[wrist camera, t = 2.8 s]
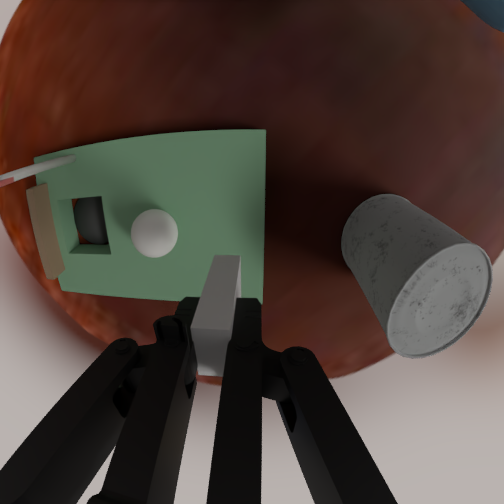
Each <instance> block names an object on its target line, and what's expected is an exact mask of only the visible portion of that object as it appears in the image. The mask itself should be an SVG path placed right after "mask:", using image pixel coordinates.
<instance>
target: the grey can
mask: <svg viewBox="0 0 504 504" xmlns="http://www.w3.org/2000/svg"><path fill="white" fill-rule="evenodd" d="M341 248H342V254H343V257H344V260H345V262H346V264H347V266H348V267H349V268H350V269H351V271H352V273H353V274H354V276H355V278H356V280H357V281H358V283H359V285H360V287H361V288H362V290H363V292H364V294H365V296H366V298H367V299H368V301H369V303H370V305H371V307H372V309H373V311H374V312H375V314H376V316H377V318H378V320H379V322H380V324H381V326H382V328H383V330H384V332H385V334H386V337H387V340H388V342H389V345H390V346H391V348H392V349H393V350H394V351H395V352H396V353H398V354H400V355H401V356H403V357H408V358H424V357H427V356H432V355H435V354H437V353H439V352H441V351H443V350H445V349H447V348H448V347H450V346H451V345H453V344H454V343H456V342H457V341H458V340H459V339H460V338H462V337H463V336H464V335H465V334H466V333H467V332H468V331H469V329H470V328H471V327H472V326H473V325H474V323H475V322H476V321H477V319H478V318H479V316H480V315H481V313H482V311H483V309H484V307H485V305H486V303H487V300H488V297H489V295H490V292H491V286H492V280H493V278H492V266H491V262H490V259H489V257H488V255H487V254H486V252H485V251H484V250H483V249H482V248H480V247H479V246H478V245H476V244H473V243H471V242H470V241H468V240H467V239H466V238H464V237H463V236H461V235H460V234H458V233H457V232H456V231H454V230H453V229H451V228H450V227H448V226H447V225H445V224H444V223H442V222H440V221H439V220H437V219H436V218H434V217H433V216H431V215H429V214H428V213H426V212H425V211H423V210H421V209H420V208H418V207H416V206H415V205H413V204H411V203H410V202H409V201H408V200H406V199H405V198H403V197H401V196H398V195H394V194H381V195H377V196H373V197H371V198H369V199H368V200H366V201H364V202H363V203H361V204H360V205H359V206H358V207H357V208H356V209H355V210H354V211H353V213H352V214H351V215H350V216H349V218H348V220H347V222H346V224H345V226H344V230H343V234H342V240H341Z"/></svg>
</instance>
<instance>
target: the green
mask: <svg viewBox="0 0 504 504" xmlns="http://www.w3.org/2000/svg"><path fill="white" fill-rule="evenodd" d="M265 163H266V130H208V131H190V132H177V133H166V134H156V135H147V136H139V137H132V138H125V139H118V140H112V141H106V142H101V143H95V144H90V145H85V146H80V147H75V148H71V149H66V150H62V151H58V152H54V153H50V154H46V155H42V156H39V157H35V158H34V165H31V166H27V167H24V168H21V169H18V170H15V171H12V172H9V173H6V174H3V175H0V187H2V186H5V185H7V184H10V183H12V182H15V181H17V180H20V179H23V178H25V177H28V176H31V175H34V174H35V175H36V182H37V186H34V187H32V188H29V189H27V190H26V194H27V200H28V206H29V211H30V216H31V221H32V226H33V230H34V235H35V239H36V243H37V247H38V250H39V254H40V257H41V261H42V264H43V268H44V271H45V274H46V277H47V279H53V280H54V279H55V278H56V277H58V280H59V283H60V286H61V289H62V291H70V292H79V293H88V294H97V295H107V296H118V297H129V298H141V299H155V300H170V301H181V300H183V299H184V298H185V297H201V294H202V291H203V288H204V285H205V282H206V279H207V276H208V273H209V270H210V267H211V264H212V261H213V258H214V255H241V298H257V299H258V300H259V302H260V303H261V304H262V301H263V265H264V221H265ZM74 198H80V199H79V200H78V201H77V203H76V206H75V209H74V213H73V207H72V200H71V199H74ZM150 209H159V210H163V211H165V212H167V213H168V214H170V215H171V216H172V217H173V219H174V220H175V222H176V224H177V228H178V238H177V242H176V244H175V246H174V247H173V249H172V250H171V251H170V252H169V253H167V254H166V255H164V256H161V257H157V258H151V257H147V256H144V255H143V254H141V253H140V252H138V251H137V249H136V248H135V247H134V245H133V243H132V239H131V228H132V224H133V222H134V221H135V219H136V218H137V217H138V216H139V215H140V214H141V213H143V212H144V211H147V210H150ZM76 227H77V229H78V231H79V233H80V234H81V235H82V236H83V238H85V239H86V240H87V241H89V242H91V243H93V244H80V243H79V238H78V234H77V229H76ZM108 241H109V245H96V244H104V243H106V242H108Z"/></svg>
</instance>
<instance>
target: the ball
mask: <svg viewBox="0 0 504 504" xmlns="http://www.w3.org/2000/svg"><path fill="white" fill-rule="evenodd" d="M177 238H178V228H177V224H176V222H175V220H174V219H173V217H172V216H171V215H170V214H168V213H167V212H165V211H163V210H159V209H150V210H147V211H144V212H143V213H141V214H140V215H139V216H138V217H137V218H136V219H135V221H134V222H133V224H132V228H131V239H132V243H133V245H134V247H135V248H136V249H137V251H138V252H140V253H141V254H143V255H144V256H147V257H151V258H157V257H161V256H164V255H166V254H167V253H169V252H170V251H171V250H172V249H173V247H174V246H175V244H176V242H177Z"/></svg>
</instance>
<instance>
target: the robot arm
mask: <svg viewBox="0 0 504 504" xmlns="http://www.w3.org/2000/svg"><path fill="white" fill-rule="evenodd" d="M461 1H462V2H463V3H464V4H465V5H466V6H467V7H468V8H470V9H471V10H472V11H473V12H474V13H475V14H476V15H477V16H478V17H479V18H480V19H481V20H483V21H484V22H485V23H487V24H488V25H490V26H491V27H493V28H495V29H497V30H499V31H501V32H504V0H461ZM153 327H154V330H155V334H156V338H157V341H156V343H154V344H150V345H143V346H138V344H137V343H136V341H135V340H133V339H131V338H120V339H117V340H115V341H114V342H112V343H111V344H110V345H109V346H108V347H107V348H106V349H105V350H104V351H103V352H102V353H101V355H100V356H99V357H98V358H97V359H96V360H95V361H94V362H93V363H92V364H91V365H90V366H89V367H88V369H87V370H86V371H85V372H84V373H83V374H82V375H81V376H80V377H79V378H78V379H77V381H76V382H75V383H74V384H73V385H72V386H71V387H70V388H69V389H68V391H67V392H66V393H65V394H64V395H63V396H62V397H61V398H60V400H59V401H58V402H57V403H56V404H55V405H54V406H53V407H52V409H51V410H50V411H49V412H48V413H47V414H46V416H45V417H44V418H43V419H42V420H41V422H40V423H39V424H38V425H37V426H36V427H35V429H34V430H33V431H32V432H31V433H30V435H29V436H28V437H27V438H26V439H25V440H24V442H23V443H22V444H21V445H20V447H19V448H18V449H17V450H16V451H15V453H14V454H13V455H12V456H11V458H10V459H9V460H8V461H7V463H6V464H5V465H4V467H3V468H2V469H1V470H0V504H76V503H77V502H78V500H79V499H80V497H81V496H82V494H83V493H84V491H85V490H86V488H87V487H88V485H89V484H90V483H91V481H92V480H93V478H94V477H95V475H96V473H97V472H98V471H99V469H100V468H101V466H102V465H103V463H104V462H105V460H106V459H107V457H108V456H109V454H110V453H111V451H112V450H113V449H114V447H115V446H116V447H115V450H114V453H113V456H112V459H111V462H110V465H109V468H108V471H107V474H106V477H105V481H104V484H103V487H102V490H101V491H100V492H99V494H96V495H94V496H92V497H91V498H90V499H89V500H88V502H87V504H174V498H175V492H176V486H177V480H178V475H179V470H180V465H181V459H182V454H183V449H184V444H185V438H186V434H187V428H188V423H189V419H190V414H191V408H192V404H193V399H194V395H195V390H196V385H197V380H196V371H197V369H198V374H199V375H209V376H223V380H222V387H221V394H220V402H219V409H218V417H217V424H216V432H215V439H214V447H213V455H212V463H211V471H210V479H209V486H208V495H207V504H261V465H262V463H261V462H262V460H261V459H262V397H264V398H268V399H272V400H276V403H277V406H278V409H279V412H280V414H281V417H282V420H283V422H284V425H285V428H286V431H287V433H288V436H289V439H290V441H291V444H292V446H293V449H294V452H295V454H296V457H297V460H298V462H299V465H300V467H301V470H302V473H303V475H304V478H305V480H306V483H307V485H308V488H309V490H310V493H311V495H312V498H313V500H314V503H315V504H398V503H397V502H396V500H395V498H394V496H393V494H392V493H391V491H390V489H389V487H388V485H387V484H386V482H385V480H384V478H383V476H382V475H381V473H380V471H379V469H378V467H377V466H376V464H375V462H374V460H373V459H372V457H371V455H370V453H369V451H368V449H367V448H366V446H365V444H364V442H363V440H362V439H361V437H360V435H359V433H358V431H357V430H356V428H355V426H354V424H353V423H352V421H351V419H350V417H349V415H348V413H347V412H346V410H345V408H344V406H343V405H342V403H341V401H340V399H339V398H338V396H337V394H336V392H335V390H334V389H333V387H332V385H331V383H330V381H329V380H328V378H327V376H326V374H325V373H324V371H323V369H322V367H321V365H320V364H319V362H318V360H317V358H316V357H315V355H314V354H313V353H312V351H310V350H309V349H307V348H304V347H299V346H298V347H290V348H287V349H286V350H284V351H283V352H277V351H274V350H271V349H269V348H268V347H266V346H265V345H264V343H263V342H262V336H261V303H260V302H259V300H258V299H257V298H241V255H214V258H213V261H212V264H211V267H210V270H209V273H208V276H207V279H206V282H205V285H204V288H203V291H202V294H201V297H185V298H184V299H183V300H181V301H180V302H179V305H178V307H177V310H176V312H175V315H172V316H164V317H161V318H159V319H158V320H156V321H155V322H154V324H153Z"/></svg>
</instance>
